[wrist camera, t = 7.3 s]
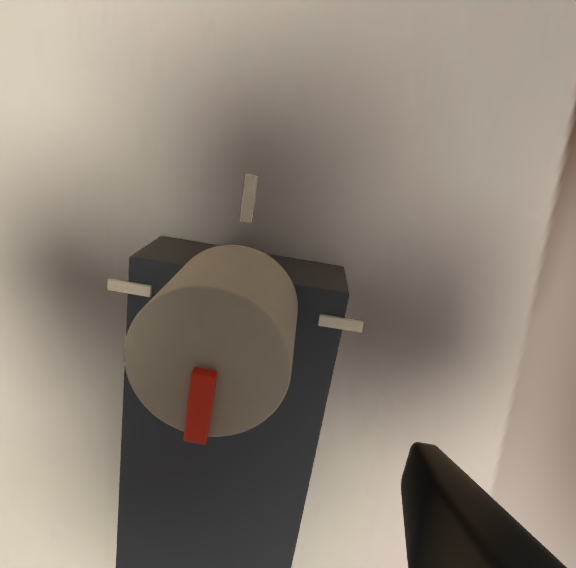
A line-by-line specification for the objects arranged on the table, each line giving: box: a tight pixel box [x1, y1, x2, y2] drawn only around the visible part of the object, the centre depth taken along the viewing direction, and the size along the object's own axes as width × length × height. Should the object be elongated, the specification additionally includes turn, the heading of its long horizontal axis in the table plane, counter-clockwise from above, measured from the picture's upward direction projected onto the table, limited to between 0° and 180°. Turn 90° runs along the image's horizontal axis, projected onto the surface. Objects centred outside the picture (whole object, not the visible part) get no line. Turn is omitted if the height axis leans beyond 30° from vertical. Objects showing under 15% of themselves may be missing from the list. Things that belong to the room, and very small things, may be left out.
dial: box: [124, 245, 298, 445], centre depth 12 cm, size 4×4×4 cm
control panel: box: [107, 174, 364, 568], centre depth 18 cm, size 21×8×3 cm, turn 171°
